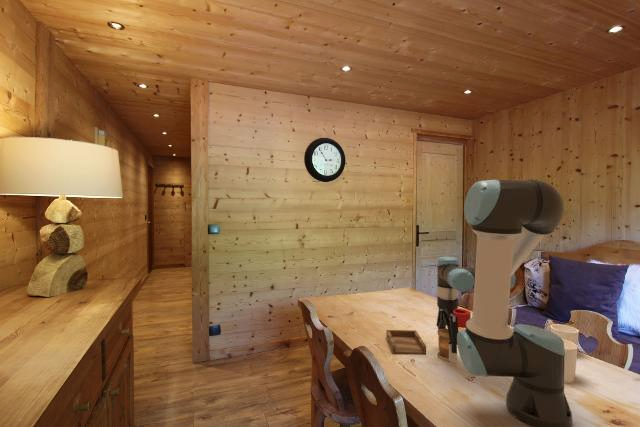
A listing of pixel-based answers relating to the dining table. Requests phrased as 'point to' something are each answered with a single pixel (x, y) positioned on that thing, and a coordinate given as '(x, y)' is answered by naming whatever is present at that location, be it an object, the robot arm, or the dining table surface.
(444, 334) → the bobbin
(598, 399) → the dining table surface
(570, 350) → the candle holder
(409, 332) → the wooden tray
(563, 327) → the mug
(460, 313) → the red watering can
